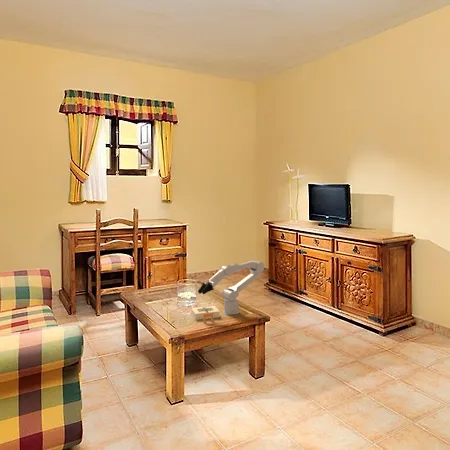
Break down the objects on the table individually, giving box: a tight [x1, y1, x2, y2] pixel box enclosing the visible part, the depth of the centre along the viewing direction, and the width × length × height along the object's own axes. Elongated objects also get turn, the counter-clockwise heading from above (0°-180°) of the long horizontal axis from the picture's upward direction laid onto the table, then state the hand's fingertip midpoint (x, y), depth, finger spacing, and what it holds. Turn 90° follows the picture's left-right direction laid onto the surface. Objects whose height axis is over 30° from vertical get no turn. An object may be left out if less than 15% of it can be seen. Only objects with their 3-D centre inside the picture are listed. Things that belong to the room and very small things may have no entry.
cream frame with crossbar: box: [191, 304, 221, 321], centre depth 261 cm, size 16×12×6 cm
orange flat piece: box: [202, 313, 214, 324], centre depth 250 cm, size 6×1×6 cm, turn 107°
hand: (200, 292), depth 255 cm, fingers open, 7 cm apart
